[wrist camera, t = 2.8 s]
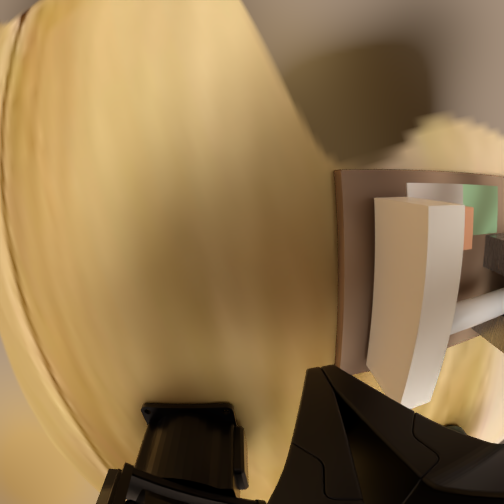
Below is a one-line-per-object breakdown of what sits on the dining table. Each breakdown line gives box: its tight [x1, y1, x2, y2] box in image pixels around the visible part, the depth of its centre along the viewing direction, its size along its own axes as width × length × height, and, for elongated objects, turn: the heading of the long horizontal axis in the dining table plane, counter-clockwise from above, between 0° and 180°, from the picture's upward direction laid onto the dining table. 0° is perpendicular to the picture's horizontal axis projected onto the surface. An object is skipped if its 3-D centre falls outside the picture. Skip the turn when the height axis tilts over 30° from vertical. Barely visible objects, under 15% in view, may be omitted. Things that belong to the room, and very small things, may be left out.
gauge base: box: [334, 169, 504, 375], centre depth 15 cm, size 17×12×1 cm
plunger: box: [366, 197, 504, 409], centre depth 12 cm, size 9×10×4 cm
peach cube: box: [463, 206, 474, 250], centre depth 12 cm, size 2×2×3 cm
